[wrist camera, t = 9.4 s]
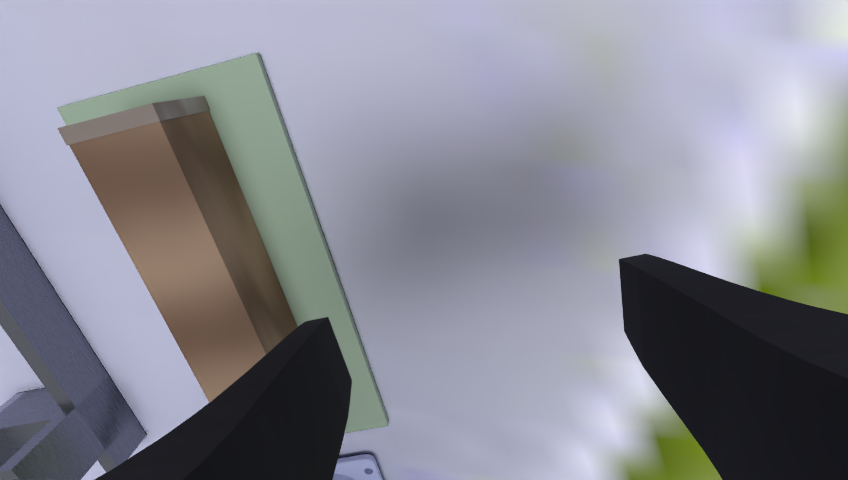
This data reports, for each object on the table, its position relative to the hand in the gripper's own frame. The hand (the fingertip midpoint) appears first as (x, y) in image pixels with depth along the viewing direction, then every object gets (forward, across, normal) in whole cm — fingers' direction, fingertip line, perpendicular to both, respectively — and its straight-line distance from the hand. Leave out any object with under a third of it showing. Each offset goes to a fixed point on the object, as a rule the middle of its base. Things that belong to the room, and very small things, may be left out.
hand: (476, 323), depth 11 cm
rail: (+9, +11, +2) cm, 15 cm away
